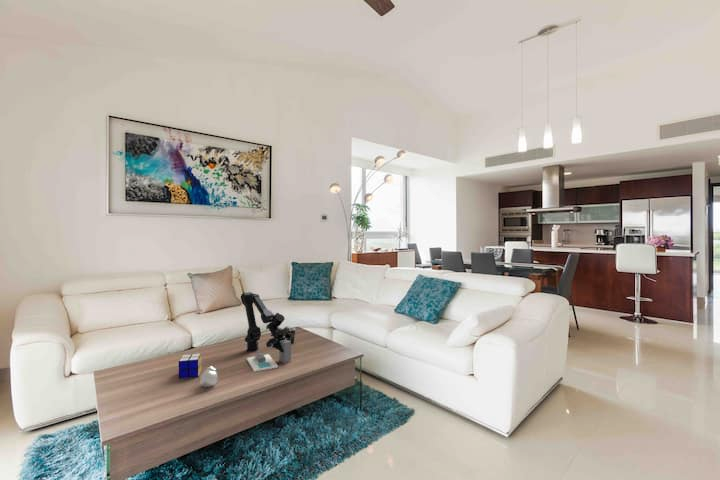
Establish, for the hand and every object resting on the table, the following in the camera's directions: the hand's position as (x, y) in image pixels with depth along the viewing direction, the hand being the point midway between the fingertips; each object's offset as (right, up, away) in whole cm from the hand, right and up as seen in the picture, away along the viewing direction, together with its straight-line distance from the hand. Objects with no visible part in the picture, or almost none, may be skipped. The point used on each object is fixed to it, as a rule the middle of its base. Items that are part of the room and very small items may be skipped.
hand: (286, 351), depth 216 cm
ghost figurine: (-34, -8, -34) cm, 48 cm away
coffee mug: (-7, -6, +37) cm, 38 cm away
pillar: (-1, -7, +1) cm, 7 cm away
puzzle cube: (-51, -7, -20) cm, 55 cm away
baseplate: (-15, -7, -3) cm, 16 cm away
